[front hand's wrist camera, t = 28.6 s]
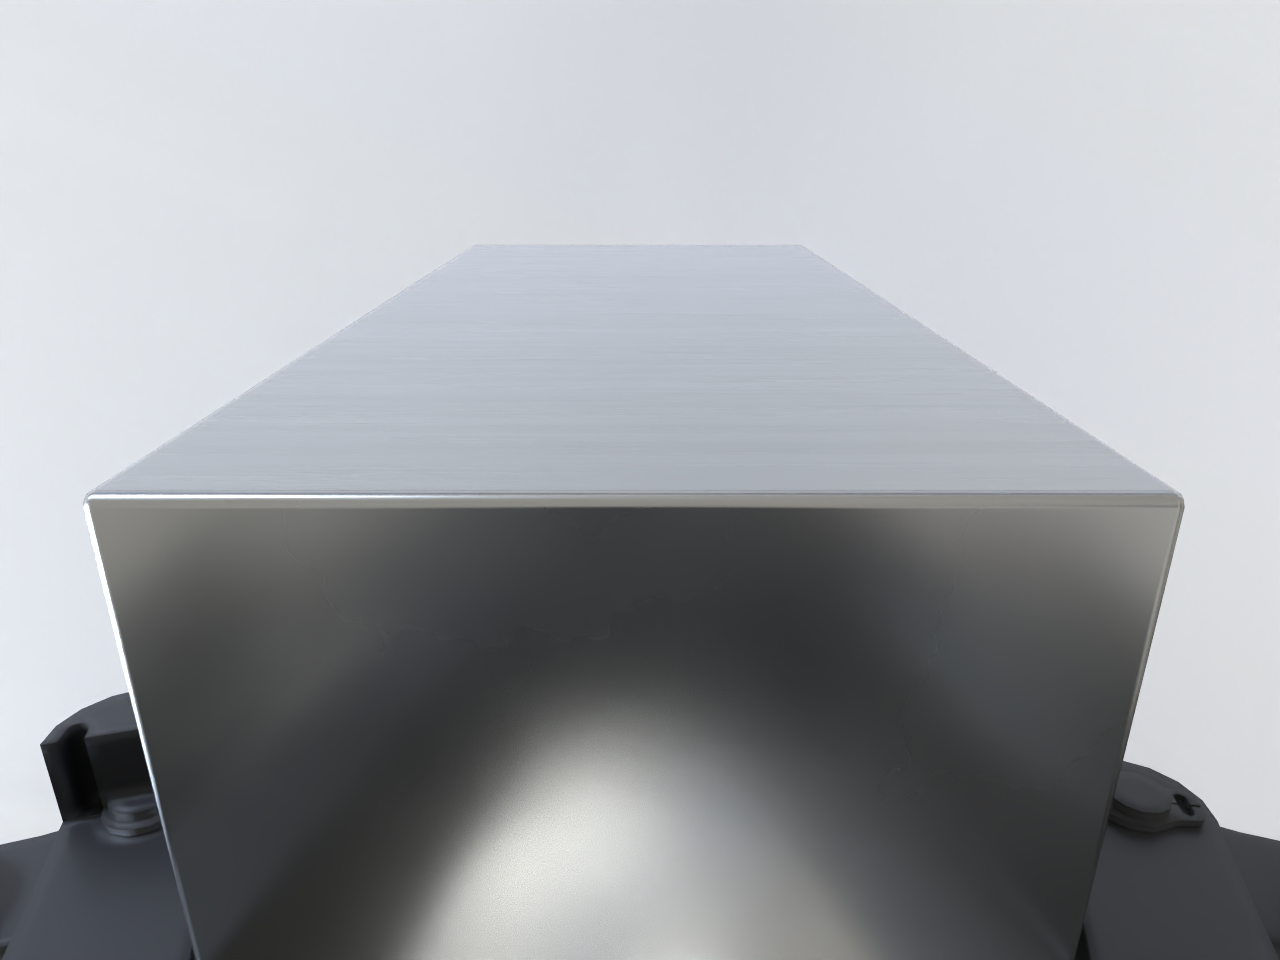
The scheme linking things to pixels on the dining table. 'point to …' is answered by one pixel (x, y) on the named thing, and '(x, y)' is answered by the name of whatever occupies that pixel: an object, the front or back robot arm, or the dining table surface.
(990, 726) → the brick
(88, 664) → the dining table surface
